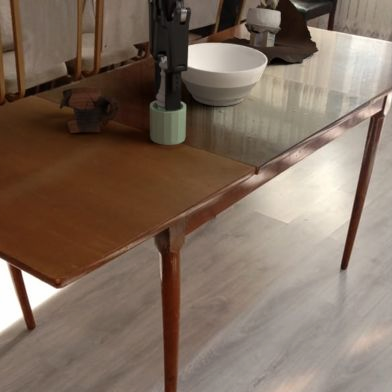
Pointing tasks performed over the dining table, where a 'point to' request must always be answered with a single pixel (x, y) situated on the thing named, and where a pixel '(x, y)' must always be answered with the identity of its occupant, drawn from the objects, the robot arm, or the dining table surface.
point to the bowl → (222, 72)
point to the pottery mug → (88, 108)
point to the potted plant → (277, 32)
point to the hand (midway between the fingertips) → (167, 103)
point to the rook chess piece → (162, 84)
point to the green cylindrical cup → (167, 124)
